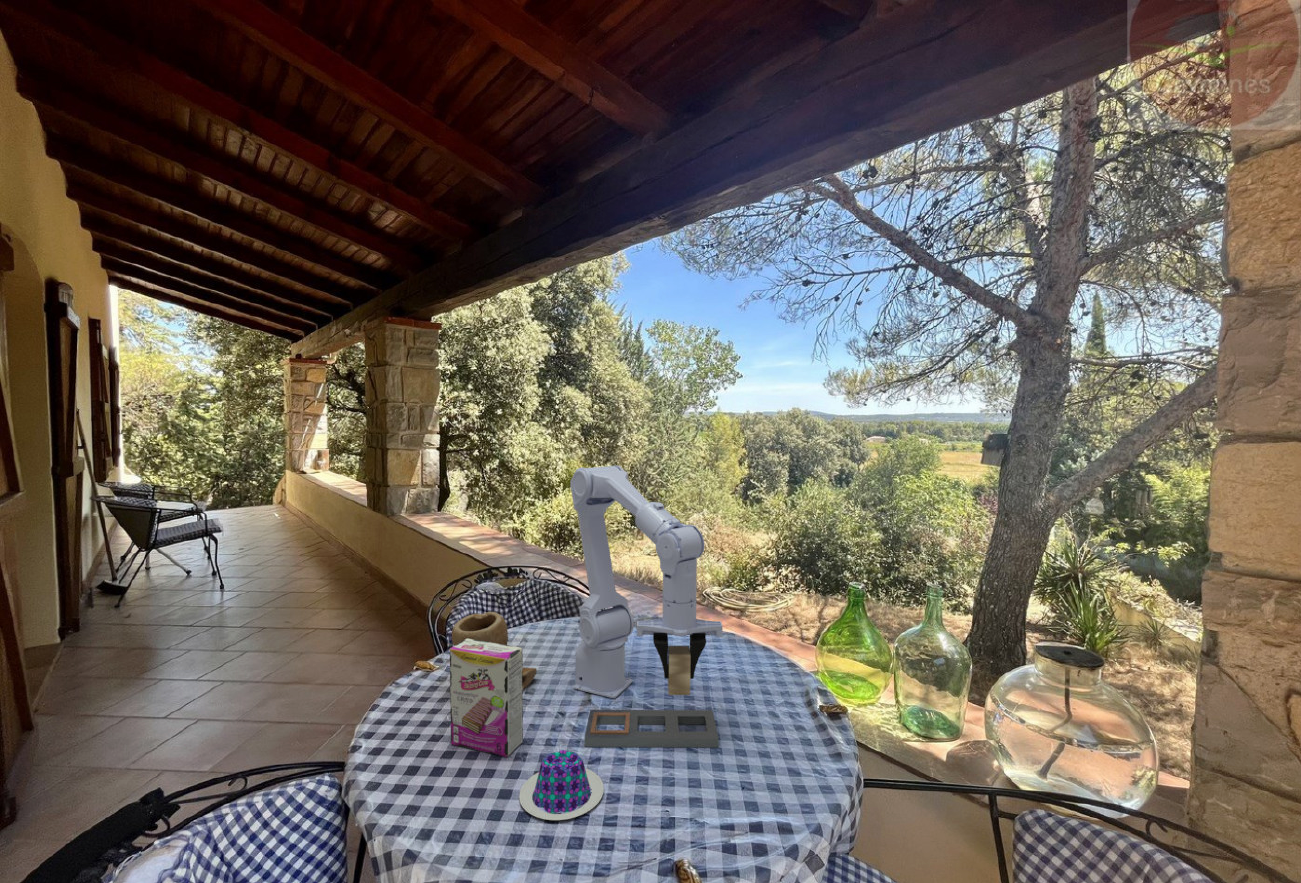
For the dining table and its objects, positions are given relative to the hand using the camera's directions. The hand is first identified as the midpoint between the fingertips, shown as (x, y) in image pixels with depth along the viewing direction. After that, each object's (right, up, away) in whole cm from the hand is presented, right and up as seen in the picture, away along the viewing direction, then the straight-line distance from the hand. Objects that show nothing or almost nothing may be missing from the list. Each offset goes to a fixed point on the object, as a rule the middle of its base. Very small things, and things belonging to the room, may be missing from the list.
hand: (678, 676), depth 99 cm
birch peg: (0, -2, 0) cm, 2 cm away
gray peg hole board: (-5, -10, 0) cm, 11 cm away
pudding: (-18, -11, -16) cm, 26 cm away
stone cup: (-36, -9, +15) cm, 40 cm away
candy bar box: (-32, -10, -3) cm, 34 cm away
